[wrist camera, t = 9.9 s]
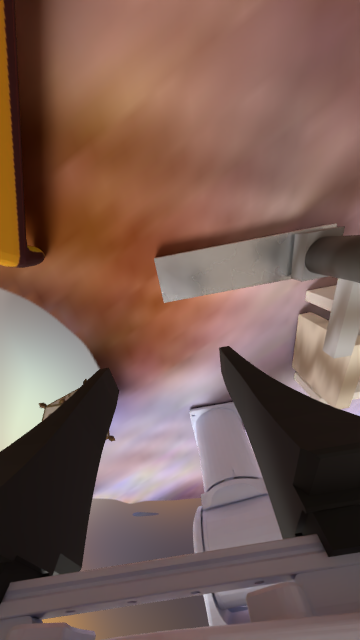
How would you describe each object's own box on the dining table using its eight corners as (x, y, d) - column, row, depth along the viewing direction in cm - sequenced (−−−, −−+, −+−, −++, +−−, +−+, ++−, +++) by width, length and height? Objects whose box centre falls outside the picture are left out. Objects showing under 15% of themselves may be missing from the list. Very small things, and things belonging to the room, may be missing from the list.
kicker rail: (318, 270, 19) (327, 272, 17) (164, 299, 19) (164, 302, 18) (326, 224, 17) (337, 223, 16) (155, 257, 17) (154, 258, 16)
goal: (356, 367, 25) (409, 403, 19) (293, 378, 25) (328, 416, 20) (388, 275, 19) (474, 289, 14) (306, 290, 19) (360, 309, 14)
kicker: (302, 364, 24) (371, 427, 16) (275, 369, 24) (330, 434, 16) (325, 227, 16) (472, 213, 9) (286, 234, 17) (396, 228, 9)
